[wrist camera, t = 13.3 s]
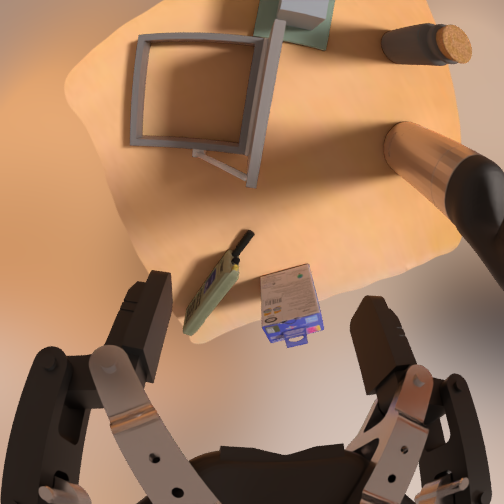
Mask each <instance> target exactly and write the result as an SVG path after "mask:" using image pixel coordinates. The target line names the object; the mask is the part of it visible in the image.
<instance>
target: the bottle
mask: <svg viewBox="0 0 504 504" xmlns="http://www.w3.org/2000/svg"><path fill="white" fill-rule="evenodd" d="M381 45H382V49H383V52H384V53H385V55H386V56H387V57H388V58H389V59H390V60H391V61H393V62H394V63H397V64H407V65H435V66H443V65H446V64H456V63H467V62H468V61H469V60H470V59H471V56H472V47H471V44H470V41H469V39H468V37H467V35H466V34H465V33H464V32H463V31H462V30H461V29H460V28H459V27H457V26H454V25H443V24H438V25H434V24H430V23H426V24H419V25H414V26H409V27H404V28H400V29H396V30H392V31H389V32H387V33H385V34H384V35H383V37H382V40H381Z"/></svg>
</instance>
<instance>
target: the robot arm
mask: <svg viewBox="0 0 504 504" xmlns="http://www.w3.org/2000/svg"><path fill="white" fill-rule="evenodd" d="M384 155H385V159H386V161H387V163H388V165H389V166H390V167H391V168H392V169H393V170H394V171H395V172H396V173H398V174H399V175H400V176H401V177H403V178H404V179H405V180H406V181H407V182H409V183H410V184H411V185H412V186H413V187H414V188H416V189H417V190H418V191H419V192H420V193H421V194H423V195H424V196H425V197H426V198H427V199H428V200H429V201H430V202H432V203H433V204H434V205H435V206H436V207H437V208H438V209H439V210H440V211H441V212H442V213H443V214H444V215H445V216H447V217H448V218H449V219H450V220H451V222H452V223H453V224H454V225H455V226H456V228H457V230H458V231H459V233H460V234H461V235H462V236H463V237H464V239H465V240H466V241H467V242H468V243H469V244H470V245H471V247H472V248H473V249H474V251H475V252H476V253H477V254H478V256H479V257H480V258H481V260H482V261H483V263H484V264H485V266H486V267H487V268H488V270H489V271H490V273H491V274H492V276H493V277H494V279H495V280H496V281H497V283H498V284H499V286H500V287H501V288H502V289H503V291H504V172H503V171H502V169H501V168H500V167H499V166H498V165H497V164H496V163H494V162H493V161H492V160H490V159H488V158H486V157H485V156H483V155H481V154H479V153H477V152H476V151H473V150H472V149H470V148H468V147H466V146H464V145H462V144H460V143H458V142H456V141H454V140H452V139H450V138H447V137H445V136H443V135H441V134H439V133H437V132H434V131H432V130H430V129H427V128H425V127H423V126H420V125H418V124H415V123H412V122H402V123H399V124H397V125H395V126H394V127H393V128H392V129H391V130H390V131H389V133H388V134H387V136H386V139H385V142H384ZM172 304H173V299H172V282H171V273H169V272H162V271H155V270H152V271H151V272H150V274H149V277H148V279H147V281H146V283H145V282H139V281H137V282H136V283H135V284H134V285H133V286H132V287H131V288H130V289H129V290H128V292H127V294H126V296H125V298H124V302H123V303H122V305H121V308H120V311H119V312H118V314H117V316H116V319H115V321H114V324H113V326H112V328H111V331H110V334H109V336H108V338H107V340H106V343H105V344H104V346H101V347H99V348H98V349H96V350H95V351H94V352H93V353H92V354H90V355H83V356H82V355H81V356H66V355H65V353H64V352H63V351H62V350H61V349H59V348H57V347H53V346H51V347H46V348H44V349H42V350H41V351H39V352H38V354H37V355H36V357H35V359H34V361H33V364H32V366H31V369H30V372H29V374H28V377H27V380H26V383H25V386H24V388H23V391H22V394H21V398H20V401H19V404H18V407H17V411H16V414H15V418H14V421H13V425H12V429H11V433H10V438H9V442H8V448H7V453H6V458H5V464H4V470H3V478H2V487H1V504H91V499H90V497H89V495H88V493H87V492H86V491H85V490H84V489H83V488H82V487H81V486H79V485H78V482H79V474H80V467H81V459H82V452H83V446H84V441H85V435H86V430H87V425H88V420H89V415H90V411H91V409H92V408H93V409H95V408H104V409H105V411H106V413H107V416H108V418H109V420H110V428H111V431H112V433H113V435H114V437H115V440H116V442H117V444H118V446H119V448H120V450H121V452H122V454H123V455H124V457H125V459H126V461H127V463H128V465H129V466H130V468H131V470H132V471H133V473H134V475H135V477H136V478H137V480H138V482H139V483H140V485H141V486H142V488H143V490H144V491H145V493H146V494H147V496H146V497H145V498H143V499H142V500H141V501H139V502H138V503H137V504H490V501H491V497H492V490H491V481H490V473H489V467H488V461H487V456H486V450H485V445H484V441H483V436H482V432H481V428H480V424H479V420H478V417H477V413H476V410H475V407H474V403H473V400H472V397H471V394H470V391H469V388H468V385H467V382H466V381H465V379H464V378H463V377H462V376H461V375H459V374H452V375H450V376H449V377H448V378H447V379H446V380H441V379H437V378H433V377H432V375H431V373H430V372H429V370H428V369H426V368H425V367H424V366H422V365H417V363H416V360H415V358H414V355H413V352H412V350H411V347H410V345H409V342H408V340H407V338H406V337H405V333H404V330H403V329H402V326H401V323H400V321H399V319H398V317H397V316H396V315H395V313H394V312H393V311H392V310H391V309H389V308H388V306H387V304H386V302H385V300H384V298H383V297H381V296H368V295H367V296H365V297H364V298H363V300H362V302H361V303H360V305H359V307H358V309H357V311H356V312H355V314H354V316H353V317H352V319H351V322H350V333H351V336H352V340H353V344H354V347H355V351H356V355H357V358H358V362H359V366H360V369H361V374H362V378H363V382H364V386H365V390H366V395H373V394H376V395H377V399H376V400H375V401H374V403H373V405H372V407H371V409H370V411H369V413H368V415H367V418H366V420H365V421H364V424H363V425H362V427H361V429H360V431H359V433H358V435H357V436H356V437H355V438H354V439H353V441H351V443H350V444H349V445H348V446H347V448H346V449H345V450H344V444H334V445H325V446H316V447H312V448H309V449H306V450H303V451H300V452H296V453H293V454H289V455H281V454H277V453H272V452H268V451H264V450H260V449H256V448H245V447H229V446H221V447H220V450H219V451H214V452H210V453H205V454H203V455H200V456H197V457H195V458H193V459H191V460H190V461H188V460H187V459H186V457H185V456H184V454H183V453H182V451H181V450H180V448H179V447H178V445H177V444H176V442H175V441H174V439H173V438H172V436H171V434H170V433H169V431H168V430H167V428H166V426H165V425H164V423H163V421H162V420H161V418H160V416H159V414H158V413H157V411H156V410H155V408H154V407H153V405H152V404H151V402H150V400H149V398H148V396H147V394H146V393H145V390H144V387H145V382H150V383H154V379H155V375H156V371H157V367H158V363H159V358H160V354H161V350H162V347H163V343H164V339H165V335H166V331H167V327H168V323H169V320H170V316H171V312H172ZM444 414H446V417H447V421H448V425H449V429H450V439H449V441H448V442H447V443H445V440H444V435H443V430H442V426H441V422H440V417H442V416H443V415H444ZM418 462H419V467H420V476H421V485H422V490H421V492H420V493H418V494H417V495H416V496H415V499H414V500H415V502H414V501H412V500H411V499H410V498H409V497H408V496H407V495H406V494H405V493H406V491H407V488H408V486H409V484H410V482H411V479H412V477H413V475H414V472H415V470H416V467H417V465H418Z"/></svg>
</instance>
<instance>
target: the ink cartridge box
mask: <svg viewBox="0 0 504 504" xmlns="http://www.w3.org/2000/svg"><path fill="white" fill-rule="evenodd" d="M260 284H261V313H262V329H263V330H264V332H265V334H266V335H267V338H268V339H269V341H270V342H271V343H274V342H278V341H282V340H285V342H286V345H287V348H289V347H294V346H298V345H303V344H307V343H308V341H307V334H310V333H314V332H317V331H321V330H324V326H323V320H322V315H321V310H320V306H319V302H318V298H317V294H316V290H315V286H314V282H313V278H312V274H311V270H310V266H309V264H306V265H302V266H299V267H295V268H292V269H288V270H284V271H281V272H277V273H273V274H270V275H266V276H262V277H260ZM299 336H304V338H303V339H301V340H300V341H297V342H290V341H289V339H290V338H295V337H299Z"/></svg>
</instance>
